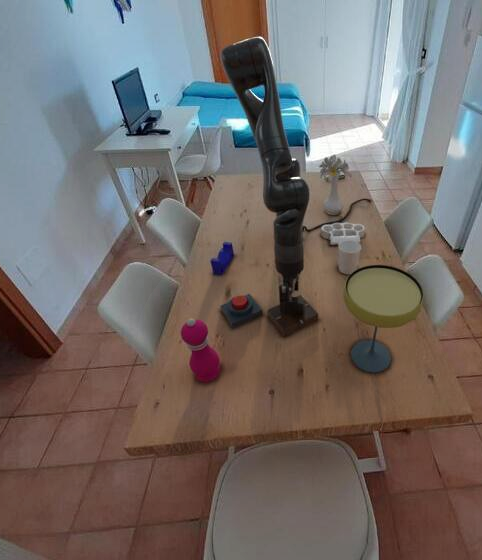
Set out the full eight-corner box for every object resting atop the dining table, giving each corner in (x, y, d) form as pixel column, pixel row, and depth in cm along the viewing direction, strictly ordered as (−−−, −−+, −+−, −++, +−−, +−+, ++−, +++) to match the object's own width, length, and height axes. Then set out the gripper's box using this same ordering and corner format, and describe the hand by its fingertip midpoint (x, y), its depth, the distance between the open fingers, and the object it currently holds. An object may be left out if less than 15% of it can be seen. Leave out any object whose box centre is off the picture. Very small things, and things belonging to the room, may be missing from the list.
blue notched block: (223, 254, 127) (220, 241, 123) (234, 255, 126) (231, 242, 122) (209, 273, 118) (206, 259, 114) (221, 275, 117) (218, 261, 113)
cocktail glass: (358, 395, 81) (370, 327, 65) (327, 342, 94) (330, 274, 78) (417, 370, 87) (442, 302, 71) (381, 323, 100) (394, 257, 84)
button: (243, 297, 103) (243, 293, 102) (250, 305, 100) (249, 301, 99) (230, 303, 101) (229, 298, 100) (236, 311, 98) (235, 307, 97)
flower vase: (340, 201, 161) (343, 149, 145) (350, 220, 147) (355, 164, 131) (314, 203, 159) (314, 151, 143) (322, 222, 145) (323, 167, 129)
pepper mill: (196, 361, 89) (177, 309, 76) (223, 359, 89) (209, 307, 76) (191, 385, 83) (169, 333, 70) (220, 383, 84) (204, 331, 71)
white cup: (361, 265, 122) (364, 243, 115) (354, 278, 116) (356, 255, 110) (341, 260, 124) (343, 237, 118) (333, 272, 119) (334, 249, 112)
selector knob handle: (304, 310, 100) (304, 297, 96) (303, 315, 98) (302, 303, 94) (282, 307, 101) (281, 294, 97) (280, 312, 99) (279, 300, 95)
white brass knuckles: (322, 247, 131) (320, 228, 142) (367, 246, 132) (361, 227, 143) (323, 240, 129) (320, 221, 140) (368, 239, 129) (362, 220, 141)
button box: (250, 298, 108) (248, 289, 105) (262, 314, 102) (261, 305, 100) (221, 310, 104) (219, 301, 101) (232, 328, 98) (230, 319, 95)
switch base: (299, 300, 107) (299, 293, 105) (319, 321, 100) (319, 314, 98) (267, 315, 102) (266, 308, 100) (285, 338, 95) (284, 331, 93)
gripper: (296, 272, 80) (298, 318, 90) (308, 240, 90) (308, 285, 101) (267, 268, 81) (271, 314, 91) (282, 237, 91) (285, 282, 102)
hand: (291, 299), depth 96 cm, fingers open, 8 cm apart
